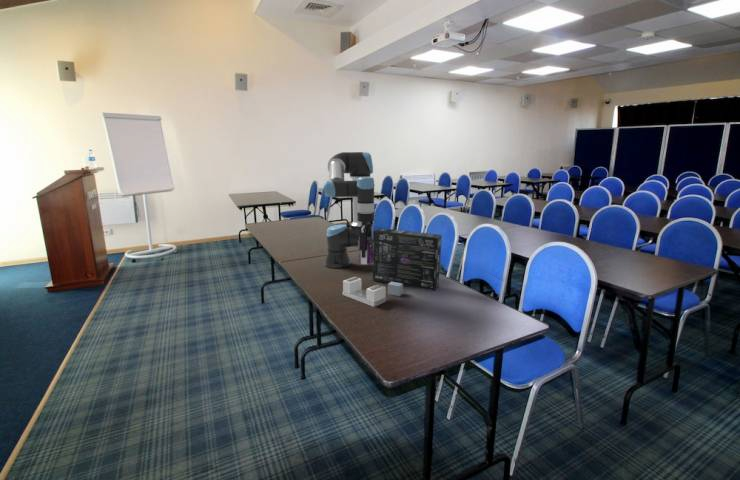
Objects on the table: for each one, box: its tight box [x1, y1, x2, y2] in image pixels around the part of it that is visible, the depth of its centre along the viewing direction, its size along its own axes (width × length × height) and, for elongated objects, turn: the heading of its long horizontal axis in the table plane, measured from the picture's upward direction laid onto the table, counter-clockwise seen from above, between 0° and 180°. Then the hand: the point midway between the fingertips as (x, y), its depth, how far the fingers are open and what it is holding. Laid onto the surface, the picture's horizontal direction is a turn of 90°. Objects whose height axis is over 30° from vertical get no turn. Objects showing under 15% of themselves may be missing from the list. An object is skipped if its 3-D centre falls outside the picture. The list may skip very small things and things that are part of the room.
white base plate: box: [342, 288, 387, 308], centre depth 167 cm, size 8×20×2 cm, turn 47°
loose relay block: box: [387, 282, 404, 297], centre depth 172 cm, size 4×6×5 cm, turn 62°
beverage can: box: [357, 236, 374, 265], centre depth 168 cm, size 7×7×12 cm
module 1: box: [342, 276, 363, 293], centre depth 172 cm, size 8×4×6 cm, turn 137°
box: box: [372, 228, 442, 291], centre depth 183 cm, size 33×7×27 cm, turn 65°
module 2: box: [365, 283, 387, 302], centre depth 162 cm, size 8×4×6 cm, turn 137°
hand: (365, 261), depth 169 cm, fingers closed on beverage can, 7 cm apart
